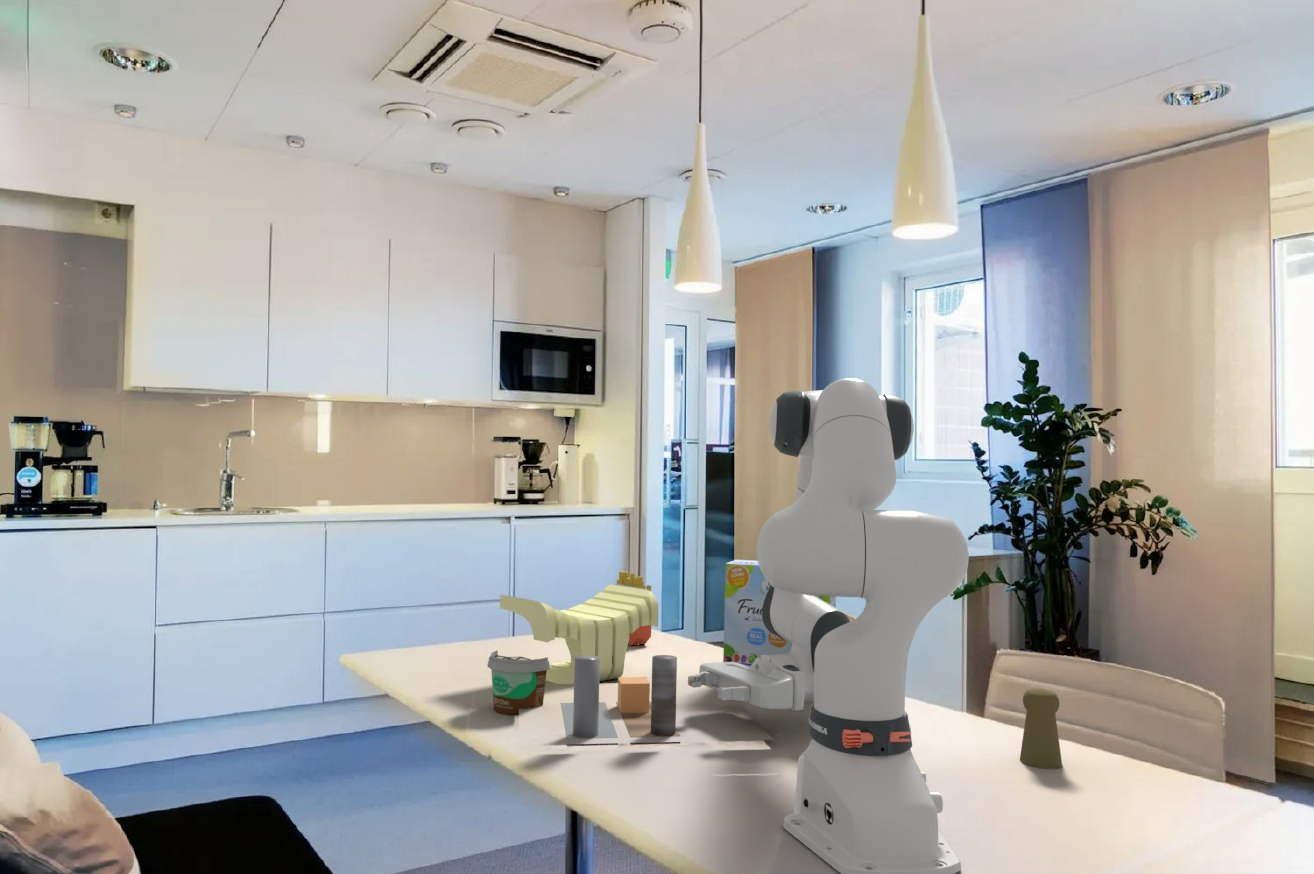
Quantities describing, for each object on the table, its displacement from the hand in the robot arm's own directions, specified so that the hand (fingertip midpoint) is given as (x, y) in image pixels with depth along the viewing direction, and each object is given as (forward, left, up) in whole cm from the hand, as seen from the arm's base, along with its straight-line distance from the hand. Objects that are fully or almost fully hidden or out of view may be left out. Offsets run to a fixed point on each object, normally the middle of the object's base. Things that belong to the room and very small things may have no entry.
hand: (704, 687), depth 149 cm
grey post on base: (+7, +19, -8) cm, 21 cm away
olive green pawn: (-17, -49, -8) cm, 53 cm away
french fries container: (+83, +2, -8) cm, 83 cm away
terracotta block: (+13, +10, -7) cm, 17 cm away
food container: (+17, +32, -8) cm, 37 cm away
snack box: (+30, -21, -8) cm, 37 cm away
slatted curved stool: (+44, +18, -8) cm, 48 cm away
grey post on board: (+7, +9, -8) cm, 13 cm away
